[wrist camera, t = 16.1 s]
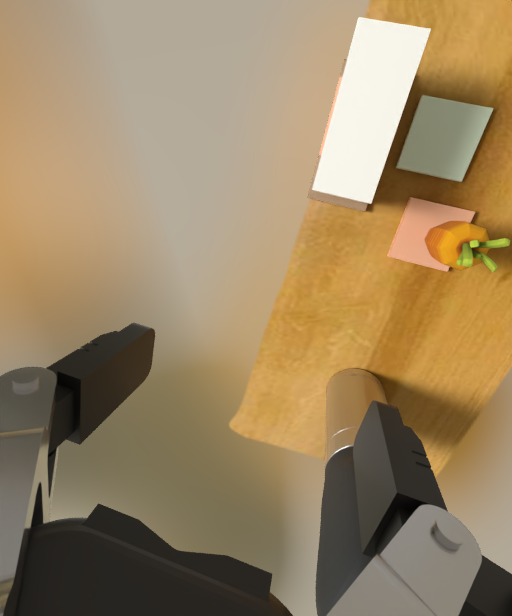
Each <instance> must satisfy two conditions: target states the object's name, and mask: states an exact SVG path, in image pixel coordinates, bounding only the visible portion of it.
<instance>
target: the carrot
mask: <svg viewBox="0 0 512 616" xmlns="http://www.w3.org/2000/svg"><path fill="white" fill-rule="evenodd" d="M424 240H425V243H426V246H427V249H428V251H429V253H430V255H431V257H433V258H434V259H435V260H437V261H438V262H440V263H441V264H444V265H447V266H449V267H452V268H455V269H458V270H463V269H466V268H469V267H471V266H474V265H477V264H479V263H481V262H482V261H483V262H484V263H485V264H486V265H487V266H488V268H489V269H490V270H491V271H492V272H494V271H496V269H497V267H498V266H497V265H496V264H495V262H494V261H493V260H492V259H490V258H489V257H488V256H487V255H486V254H487V252H488V251H489V249H490V248H500V247H506V246H509V245H510V240H509V239H506V238H503V239H497V240H491V241H490V240H489V237H488V234H487V231H486V229H485V228H483V227H480V226H477V225H474V224H471V223H468V222H466V221H449V222H445V223H443V224H440V225H438V226H436V227H433V228H431V229H430V230H429V231H428V233H427V235H426V237H425V239H424Z"/></svg>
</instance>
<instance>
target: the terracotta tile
mask: <svg viewBox="0 0 512 616" xmlns="http://www.w3.org/2000/svg"><path fill="white" fill-rule="evenodd" d="M474 214H475V212H473V211H469V210H464V209H460V208H456V207H451V206H447V205H443V204H438V203H434V202H430V201H425V200H421V199H417V198H412V197H409V200H408V202H407V205H406V208H405V210H404V213H403V215H402V218H401V221H400V223H399V226H398V228H397V231H396V234H395V236H394V239H393V241H392V244H391V247H390V249H389V252H388V255H387V256H388V257H392V258H396V259H399V260H403V261H407V262H411V263H415V264H419V265H423V266H427V267H431V268H435V269H438V270H442V271H446V272H448V270H449V266H447V265H444V264H441V263H440V262H438V261H437V260H435V259H434V258H433V257H431V255H430V253H429V251H428V249H427V246H426V243H425V240H424V239H425V237H426V235H427V233H428V231H429V230H430V229H431V228H433V227H436V226H438V225H440V224H443V223H445V222H449V221H466V222H468V223H470V222H471V220H472V218H473V216H474Z"/></svg>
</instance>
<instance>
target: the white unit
mask: <svg viewBox="0 0 512 616" xmlns="http://www.w3.org/2000/svg"><path fill="white" fill-rule="evenodd" d="M430 30H431V29H428V28H422V27H416V26H410V25H404V24H398V23H391V22H385V21H379V20H373V19H367V18H361V17H359V18H358V21H357V25H356V28H355V32H354V36H353V40H352V44H351V47H350V51H349V54H348V58H347V59H344V62H343V66H342V70H341V74H340V77H339V81H338V85H337V89H336V92H335V96H334V100H333V104H332V107H331V112H330V115H329V119H328V122H327V126H326V130H325V134H324V137H323V141H322V145H321V149H320V153H319V156H318V160H317V164H316V167H315V171H314V175H313V179H312V182H311V186H310V190H309V194H308V198H311V199H315V200H319V201H323V202H327V203H332V204H336V205H340V206H344V207H348V208H352V209H356V210H361V211H365V210H366V207H367V205H368V203H369V204H371V203H372V200H373V197H374V194H375V191H376V188H377V185H378V182H379V180H380V177H381V174H382V171H383V168H384V165H385V162H386V159H387V156H388V153H389V150H390V147H391V144H392V142H393V139H394V136H395V133H396V130H397V127H398V124H399V121H400V118H401V115H402V112H403V109H404V106H405V104H406V101H407V98H408V95H409V92H410V89H411V86H412V83H413V80H414V77H415V74H416V71H417V68H418V66H419V63H420V60H421V57H422V54H423V51H424V48H425V45H426V42H427V39H428V36H429V33H430Z"/></svg>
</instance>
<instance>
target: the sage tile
mask: <svg viewBox="0 0 512 616" xmlns="http://www.w3.org/2000/svg"><path fill="white" fill-rule="evenodd" d="M492 111H493V108H489V107H484V106H479V105H473V104H468V103H463V102H457V101H452V100H447V99H442V98H436V97H431V96H426V95H422V96H421V97H420V100H419V103H418V105H417V108H416V111H415V114H414V117H413V119H412V122H411V125H410V128H409V131H408V134H407V136H406V139H405V142H404V145H403V148H402V150H401V153H400V156H399V159H398V162H397V165H396V167H395V168H397V169H402V170H406V171H411V172H415V173H420V174H424V175H429V176H434V177H438V178H443V179H447V180H452V181H456V182H462V180H463V177H464V175H465V173H466V171H467V168H468V166H469V164H470V161H471V159H472V157H473V154H474V152H475V150H476V148H477V145H478V143H479V141H480V138H481V136H482V134H483V131H484V129H485V127H486V125H487V122H488V120H489V118H490V115H491V113H492Z"/></svg>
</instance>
